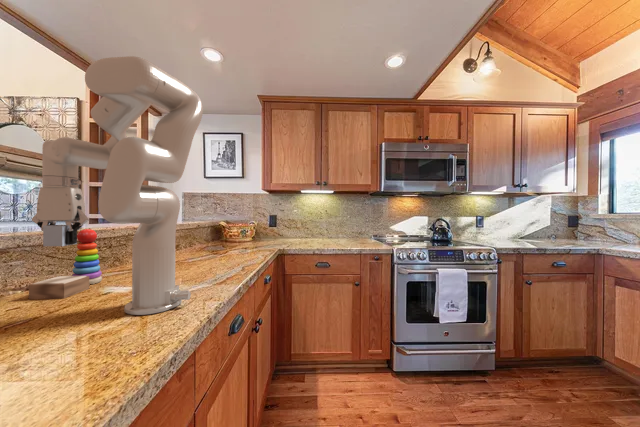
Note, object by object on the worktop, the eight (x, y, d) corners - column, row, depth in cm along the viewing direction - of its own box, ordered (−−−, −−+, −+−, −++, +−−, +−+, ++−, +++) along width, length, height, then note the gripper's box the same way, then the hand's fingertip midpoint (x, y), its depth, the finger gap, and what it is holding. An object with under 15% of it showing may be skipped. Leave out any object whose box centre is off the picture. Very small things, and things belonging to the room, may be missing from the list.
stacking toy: (63, 286, 84) (63, 229, 83) (89, 279, 91) (89, 228, 91) (83, 287, 82) (83, 230, 82) (108, 280, 90) (108, 228, 90)
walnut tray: (89, 288, 81) (89, 275, 81) (64, 298, 72) (64, 283, 72) (58, 289, 80) (58, 276, 80) (28, 299, 71) (28, 284, 71)
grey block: (76, 243, 79) (76, 224, 79) (62, 246, 74) (62, 225, 74) (59, 243, 78) (59, 224, 78) (43, 246, 73) (43, 225, 73)
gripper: (101, 185, 80) (100, 242, 81) (41, 184, 78) (41, 242, 79) (81, 183, 73) (81, 245, 73) (15, 181, 71) (15, 245, 71)
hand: (60, 243), depth 76 cm, fingers closed on grey block, 5 cm apart
